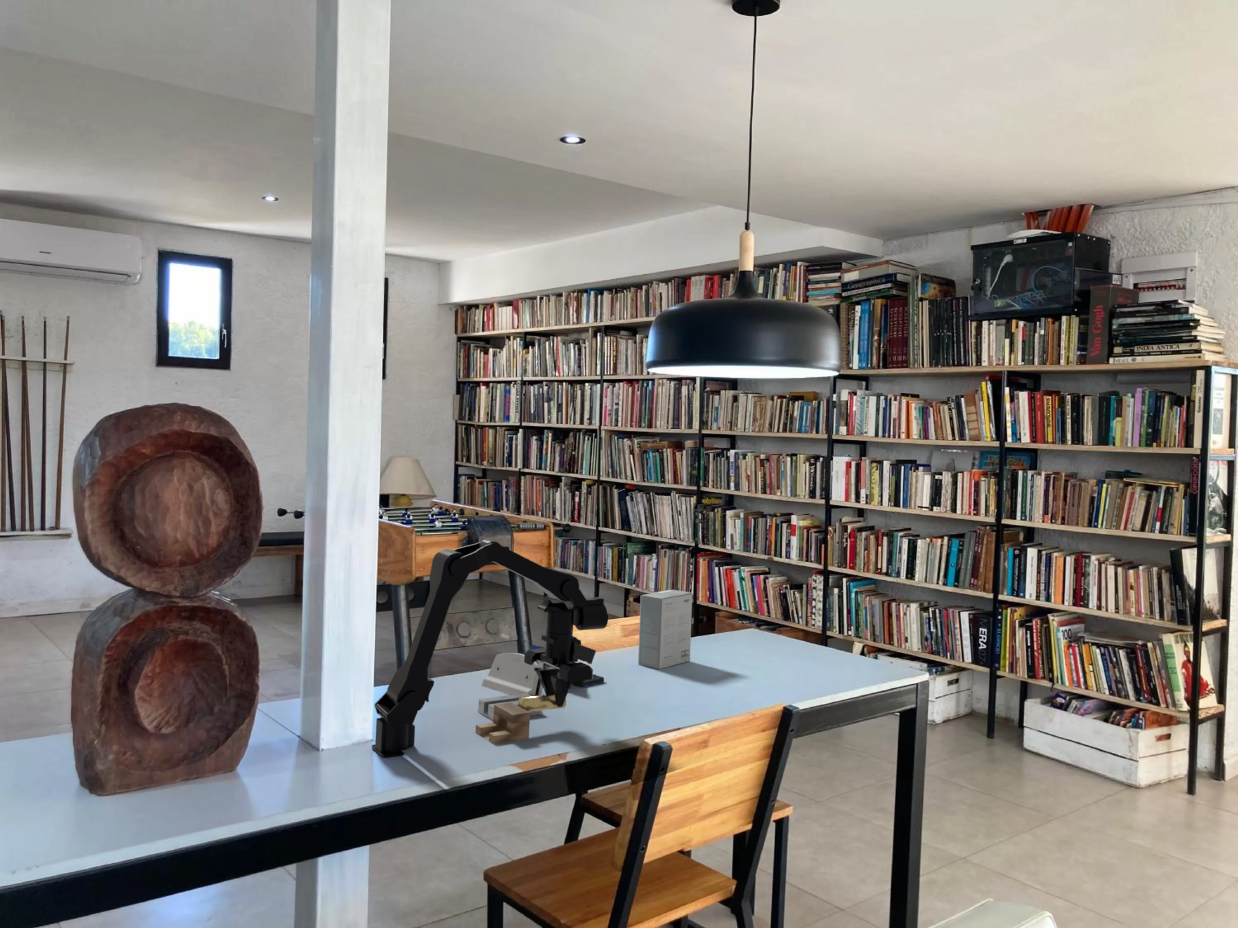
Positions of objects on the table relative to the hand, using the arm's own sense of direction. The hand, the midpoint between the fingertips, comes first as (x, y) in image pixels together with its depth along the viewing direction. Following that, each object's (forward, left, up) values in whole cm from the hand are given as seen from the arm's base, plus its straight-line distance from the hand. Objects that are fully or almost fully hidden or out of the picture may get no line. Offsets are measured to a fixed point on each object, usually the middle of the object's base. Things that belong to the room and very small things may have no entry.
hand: (555, 704), depth 196 cm
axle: (-3, 0, -1) cm, 3 cm away
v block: (-4, +13, -6) cm, 15 cm away
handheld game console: (+25, +34, -6) cm, 43 cm away
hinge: (+8, +32, -6) cm, 33 cm away
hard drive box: (+60, +39, -6) cm, 72 cm away
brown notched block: (-13, 0, -6) cm, 14 cm away
